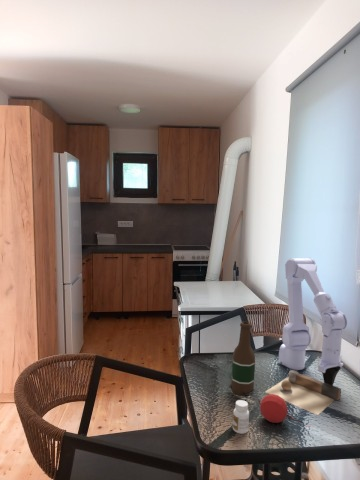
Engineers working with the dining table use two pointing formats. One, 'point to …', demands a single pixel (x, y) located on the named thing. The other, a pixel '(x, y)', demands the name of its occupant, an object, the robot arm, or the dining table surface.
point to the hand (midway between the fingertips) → (328, 386)
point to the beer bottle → (243, 363)
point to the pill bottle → (241, 417)
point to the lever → (315, 385)
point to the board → (301, 396)
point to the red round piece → (273, 408)
